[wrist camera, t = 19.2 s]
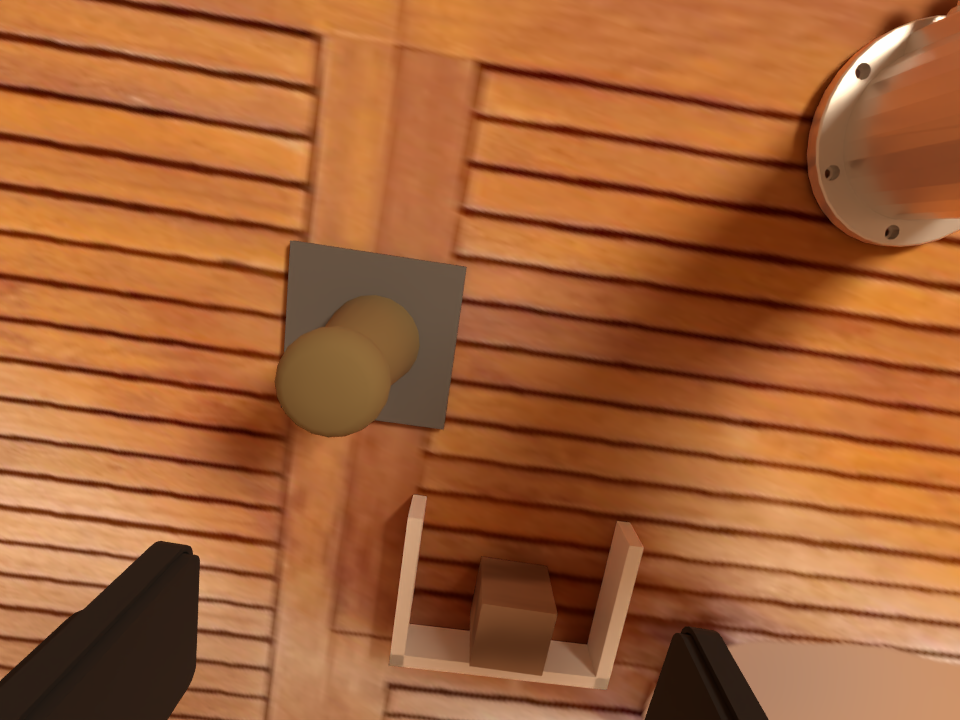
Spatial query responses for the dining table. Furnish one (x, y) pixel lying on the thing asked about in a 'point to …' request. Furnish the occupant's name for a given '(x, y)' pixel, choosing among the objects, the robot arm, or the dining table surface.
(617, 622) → the tray
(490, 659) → the walnut block
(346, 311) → the cork
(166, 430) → the dining table surface
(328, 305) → the mat
